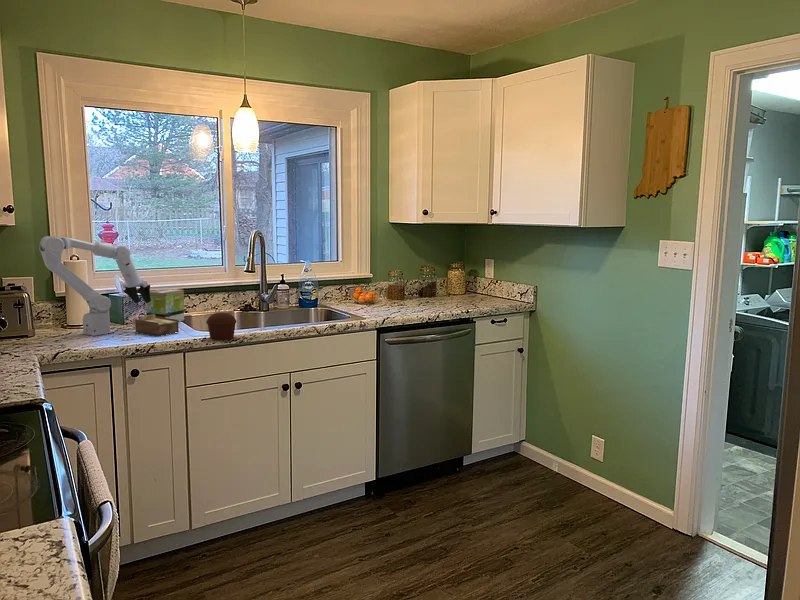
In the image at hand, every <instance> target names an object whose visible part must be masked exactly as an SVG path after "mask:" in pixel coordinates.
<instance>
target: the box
mask: <svg viewBox="0 0 800 600" xmlns="http://www.w3.org/2000/svg"><path fill="white" fill-rule="evenodd" d="M155 318H157V319H163V320H170V321H177V323H173V324H166V325H160V326H159V323H157V322H150V321H144V320H141V319H134V321H135V323H134V324H135V333H136V332H138V333H137V334H140V333H143V334H142V335H146V334H149V335H148V336H152V335H154V336H153V337H162V336H161V335H164V336H167V335H166V334H170V333H175V332H180V331H179V330H180V329H179V322H178V320H176V319H170V318H163V317H155ZM175 334H176V333H175ZM170 335H171V334H170Z"/></svg>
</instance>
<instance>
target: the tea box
mask: <svg viewBox="0 0 800 600" xmlns="http://www.w3.org/2000/svg"><path fill="white" fill-rule="evenodd" d="M184 290H185V289H179V288H178V289H176V288H175V289H174V288H164V289H163V288H162V289H156V290H150V298H151V301H150V302H149V303H146V302H145V303H146V304H145V305H146V308H145V309H146V310H145V311H146V315H155V317H163V318H170V319H176V320H178V321H179V322H184V320H185V291H184ZM146 315H145V316H146Z"/></svg>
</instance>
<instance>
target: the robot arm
mask: <svg viewBox="0 0 800 600" xmlns="http://www.w3.org/2000/svg"><path fill="white" fill-rule="evenodd" d="M38 247H39V248H38V249H39V252H40V254H41V257H42V259H43V260H42V261H43V262H44V266H45V267H46V268H47V269H48V270H49V271H51V273H53V274H54V275H56V277H58V278H59V279H60V280H62V282H64V283H65V284H66V285H68V287H70V288H71V289H72V290H73V291H75V292H76V293H77V294H79V295H80V296H81V297H82V299H83V300H85V302H86V303H87V306H88V307H89V312H87V313H84V314H83V316H82V333H81V334H83V335H88V336H92V337H93V336H94V337H95V336H100V335H101V336H102V335H108V333H109V334H114V333H113V332H115V333H116V331H114V330H111V320H110V319H111V317H110V308H111V307H112V301H111V298H109V297H108V296H106V295H102V294H100V292H99V291H96V290H95V289H93V288H92V287H91V286H90V285H89V284H87V283H86V282H85V281H84V280H83V279H81V278H80V277H79V276H78V275H77V274H75V273H74V272H73V270H71V269H69V268H68V267H67V266H66V265H65V264H64V263H63V262H62V254H63V252H64V250H68V249H71V248H74V249H80V250H84V251H89V252H92V253H93V255H94V256H97V257H98V256H99V257H103V258H107V259H112V260H115V262H116V265H117V267H118V269H119V271H120V273H121V275H122V277H123V280H124V282H123V283H122V284H121V286H122V288H123V290H122V292H123V293H124V294H125V295H127V296H128V297H129V298H130V299H131V300H132V301H133V303H134V304H138V303H139V302H140V301H141V299H140V297H139V294H140V296H141V297H142V299H143V301H144V302H145V303H149V302H150V301H151V298H150V291H151V284H149V283H148V281H147V280H144V279H143V278H141V277H140V276H139V273H138V270H137V269H136V266H135V264H134V261H133V260H132V259H131V250H129V249H128V248H127V247H126V246H122V245H118V244H117V243H113V244H112V243H108V242H106V241H105V240H102V239H101V240H100V241H98V240H97V241H95V242H93V243H92V242H89V241H85V240H79V239H77V238H76V239H75V238H71V237H64V236H63V237H61V236H51V235H46V236H43V237H42V238H41V239H40V242H39V246H38ZM137 288H138V289H137Z"/></svg>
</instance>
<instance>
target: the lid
mask: <svg viewBox="0 0 800 600" xmlns="http://www.w3.org/2000/svg"><path fill="white" fill-rule="evenodd" d="M140 320H144V321H150V322H157V323H159V326H160V325H166V324H173V323H177V321H170V320H163V319H157V318H155V315H141V316H140Z"/></svg>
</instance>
